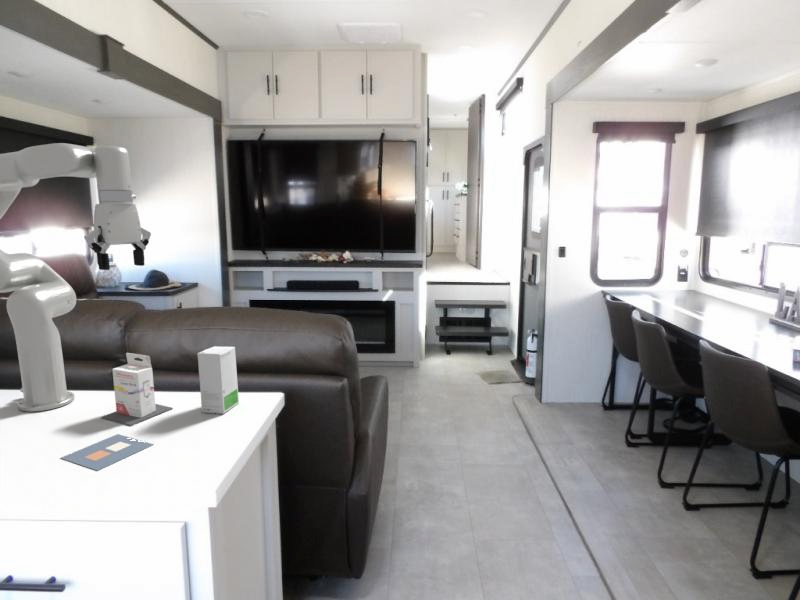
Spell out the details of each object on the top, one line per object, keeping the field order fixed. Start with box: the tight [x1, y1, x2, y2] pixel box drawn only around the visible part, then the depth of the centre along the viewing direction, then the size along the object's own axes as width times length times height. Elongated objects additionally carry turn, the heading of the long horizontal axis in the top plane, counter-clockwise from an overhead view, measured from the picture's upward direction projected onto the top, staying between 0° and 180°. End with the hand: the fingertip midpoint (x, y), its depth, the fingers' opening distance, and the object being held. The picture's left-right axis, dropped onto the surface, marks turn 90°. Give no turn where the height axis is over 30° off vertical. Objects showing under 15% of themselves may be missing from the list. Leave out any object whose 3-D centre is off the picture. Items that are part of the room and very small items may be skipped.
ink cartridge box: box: [112, 352, 156, 418], centre depth 133 cm, size 9×5×15 cm, turn 69°
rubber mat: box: [100, 403, 174, 427], centre depth 134 cm, size 11×12×1 cm
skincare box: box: [196, 346, 240, 415], centre depth 136 cm, size 8×7×16 cm
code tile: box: [60, 433, 154, 472], centre depth 113 cm, size 12×13×1 cm
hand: (122, 267), depth 134 cm, fingers open, 9 cm apart
